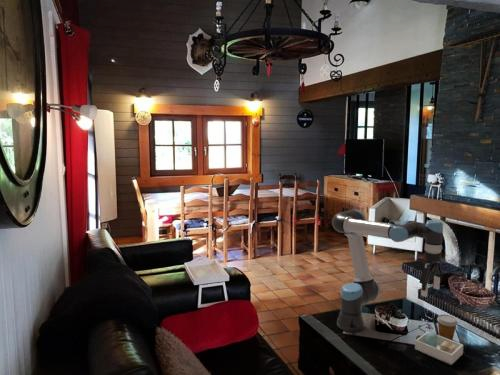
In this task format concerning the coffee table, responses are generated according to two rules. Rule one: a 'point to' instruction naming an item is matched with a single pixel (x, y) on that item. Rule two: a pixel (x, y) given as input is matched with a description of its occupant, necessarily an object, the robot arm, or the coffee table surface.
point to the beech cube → (447, 347)
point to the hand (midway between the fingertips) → (430, 292)
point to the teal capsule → (431, 339)
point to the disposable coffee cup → (446, 326)
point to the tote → (436, 352)
